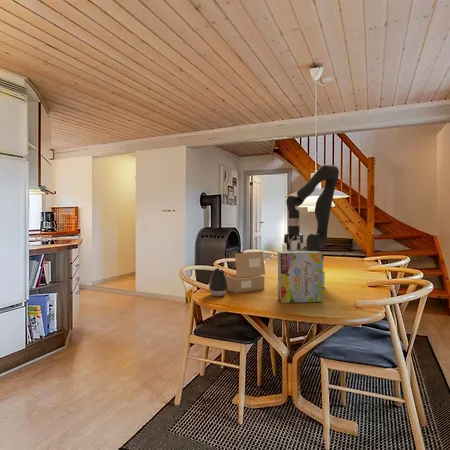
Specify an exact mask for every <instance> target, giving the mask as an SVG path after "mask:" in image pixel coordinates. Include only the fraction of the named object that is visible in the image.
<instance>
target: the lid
mask: <svg viewBox="0 0 450 450" xmlns="http://www.w3.org/2000/svg"><path fill="white" fill-rule="evenodd" d="M264 256H265V255H264V251H254V252H240V253H239V252H238V253H234V258H235V269H236V270H235V271H236V272H235V274H237V278H238V277H248V276H257V275H262V276H265V275H266V269H265V257H264Z"/></svg>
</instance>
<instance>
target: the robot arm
mask: <svg viewBox="0 0 450 450" xmlns="http://www.w3.org/2000/svg"><path fill="white" fill-rule="evenodd" d="M339 174H340V171H339V168H338V167H337V166H336V165H332V164H323V165H322V166H320V167H319V168H318V170H316V172H315V173H314V174H313V175H312V176H311V178H310V179H309V180H308V181H307V182H306V183H305V184H304V185H303V186H301V188H299V189H298V190H297V192H296V195H292V194H291V195H288V196H287V197H286V200H285V201H286V203H285V204H286V208H287V211H288V219H287V220H288V221H287V232H288V233H285V234H283V235H284V236H283V244H285V245H286V251H290V250H291V243H292V242H294V241H295V242H296V243H297V244H296V250H297V251H301V245H302V244H304V235H303V234H300V229H301V228H300V226H301V223H300V221H301V220H300V210H298V209H297V208H296V207H299V206H301V205H303V203H304V201H305V200H306V198H309V196H311V195H312V194H313V193H314V191H315V190H316V187H317V186H318V185H319V184H320V183H321V182H323V181H325V183H324V187H323V189H322V191H321V193H320V194H319V196H318V198H317V199H316V202H315V206H314V215H315V218H316V222H317V228H316V232H315V233H309V234H308V235H307V238H306V251H318V252H320V248H322V249H323V248H324V247H325V246H326V244H327V240H328V228H329V220H330V215H331V210H332V205H333V200H334V194H335V190H336V185H337V182H338V179H339ZM325 274H326V273H325V271H324V254H323V253H322V288H325V283H326V282H325V278H326V277H325Z"/></svg>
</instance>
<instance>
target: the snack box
mask: <svg viewBox="0 0 450 450" xmlns="http://www.w3.org/2000/svg"><path fill="white" fill-rule="evenodd" d="M322 254H323V253H322V252H321V251H319V252H318V251H307V250H306V251H305V250H297V251H296V250H295V251H294V250H293V251H290V250H289V251H277V283H278V284H277V293H278V294H277V295H278V296H277V300H278V301H279V302H280V303H281V304H284V303H285V304H287V303H291V304H292V303H295V304H297V303H322V302H323V287H322Z"/></svg>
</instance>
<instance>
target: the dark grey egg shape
mask: <svg viewBox="0 0 450 450" xmlns="http://www.w3.org/2000/svg"><path fill="white" fill-rule="evenodd" d="M225 275H226V274H225V270H223V269H222V268H218V267H217V268H215V269H213V271H212V274H211V276H210V279H209V284H208V290H209V293H210V294H211V295H212V296H213V297H223V296H225V295H226V294H227V291H228V290H227V281H226V277H225Z"/></svg>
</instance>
